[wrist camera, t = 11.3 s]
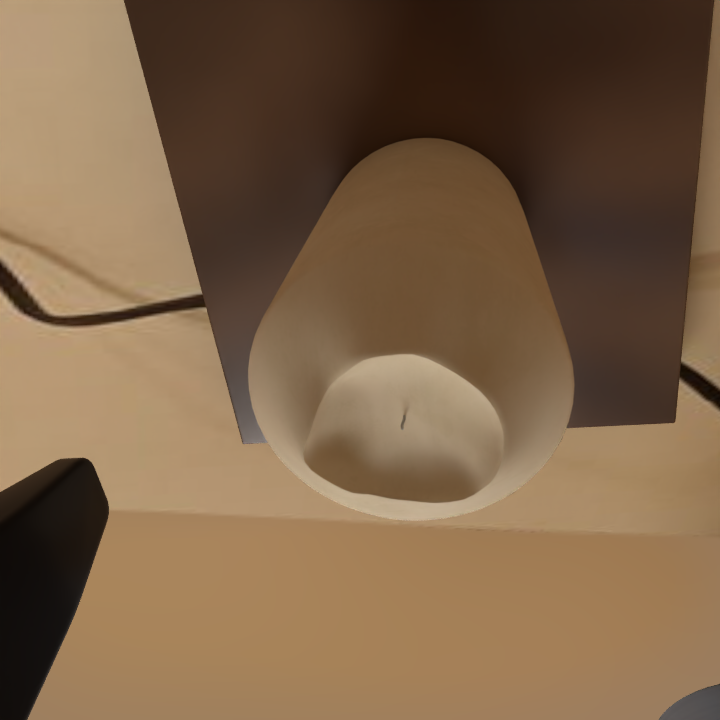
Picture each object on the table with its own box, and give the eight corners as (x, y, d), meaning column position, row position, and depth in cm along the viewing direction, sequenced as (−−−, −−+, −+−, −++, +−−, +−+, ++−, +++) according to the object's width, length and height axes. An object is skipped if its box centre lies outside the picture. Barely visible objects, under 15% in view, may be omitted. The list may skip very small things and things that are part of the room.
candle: (343, 332, 21) (265, 584, 12) (310, 149, 18) (180, 297, 9) (528, 317, 20) (590, 577, 11) (520, 120, 17) (593, 255, 8)
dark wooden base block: (658, 389, 23) (675, 423, 21) (256, 412, 25) (242, 444, 23) (696, -113, 16) (726, -126, 14) (149, -18, 18) (117, -19, 17)
